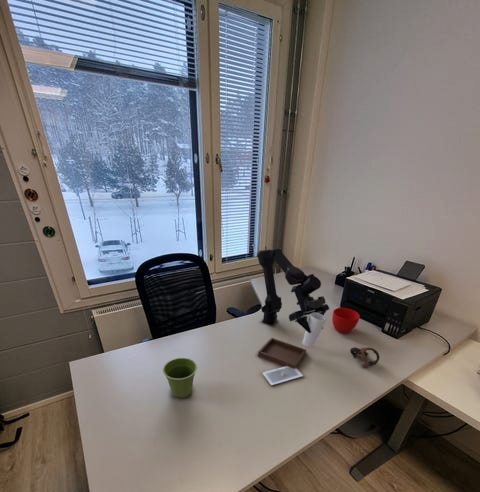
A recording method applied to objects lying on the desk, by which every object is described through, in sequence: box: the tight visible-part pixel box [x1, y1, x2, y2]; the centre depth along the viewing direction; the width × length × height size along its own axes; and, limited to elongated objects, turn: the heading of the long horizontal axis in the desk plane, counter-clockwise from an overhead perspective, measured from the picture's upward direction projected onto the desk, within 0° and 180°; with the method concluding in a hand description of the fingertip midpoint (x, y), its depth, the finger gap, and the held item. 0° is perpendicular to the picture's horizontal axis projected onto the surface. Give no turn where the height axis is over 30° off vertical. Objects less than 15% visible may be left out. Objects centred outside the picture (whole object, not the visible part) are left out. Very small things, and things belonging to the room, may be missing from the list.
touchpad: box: [261, 366, 304, 386], centre depth 109 cm, size 8×15×2 cm, turn 113°
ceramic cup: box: [331, 306, 361, 334], centre depth 142 cm, size 13×17×10 cm
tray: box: [257, 337, 307, 369], centre depth 121 cm, size 18×14×2 cm
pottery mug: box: [349, 346, 380, 369], centre depth 118 cm, size 12×10×8 cm
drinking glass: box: [301, 312, 327, 349], centre depth 117 cm, size 7×7×15 cm
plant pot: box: [162, 357, 198, 399], centre depth 97 cm, size 12×12×11 cm
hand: (316, 330), depth 115 cm, fingers closed on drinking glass, 7 cm apart
